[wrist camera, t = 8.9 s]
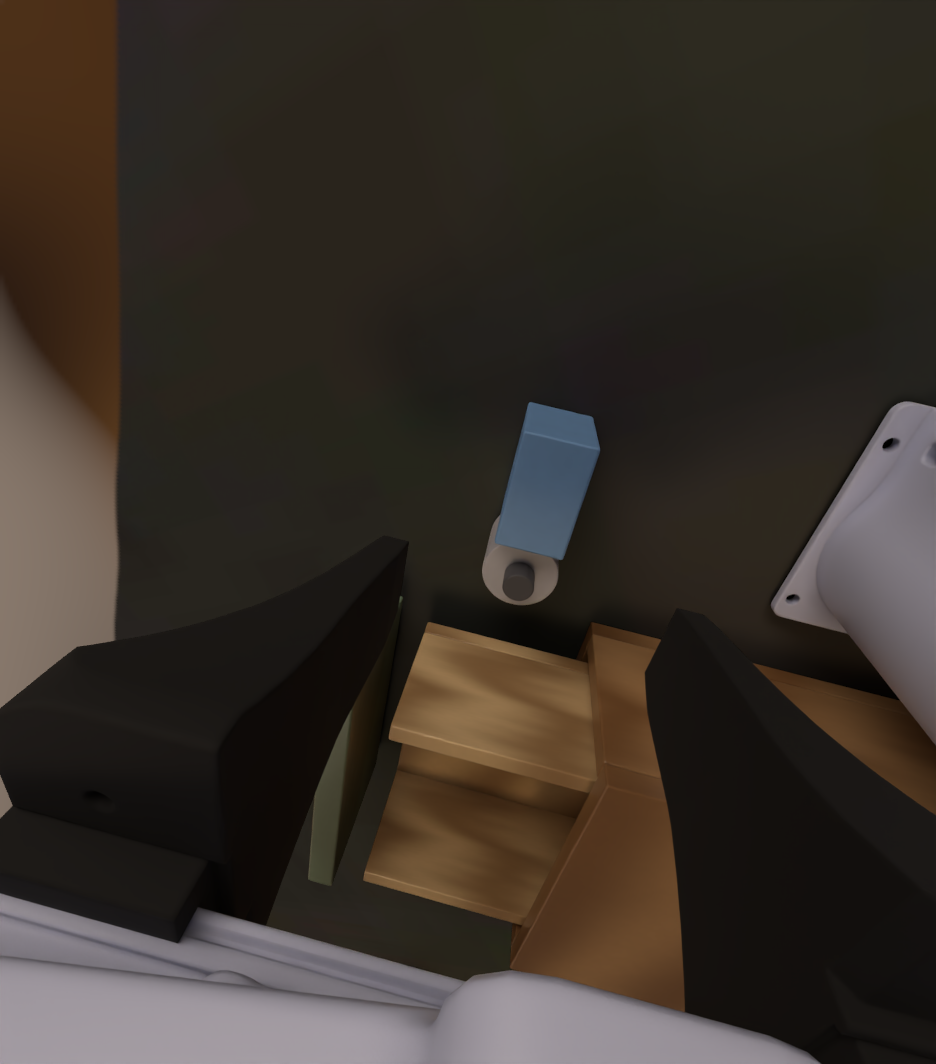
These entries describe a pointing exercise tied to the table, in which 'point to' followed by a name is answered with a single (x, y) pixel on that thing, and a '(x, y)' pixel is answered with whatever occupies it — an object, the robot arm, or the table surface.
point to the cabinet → (668, 825)
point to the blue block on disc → (540, 504)
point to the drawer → (464, 772)
